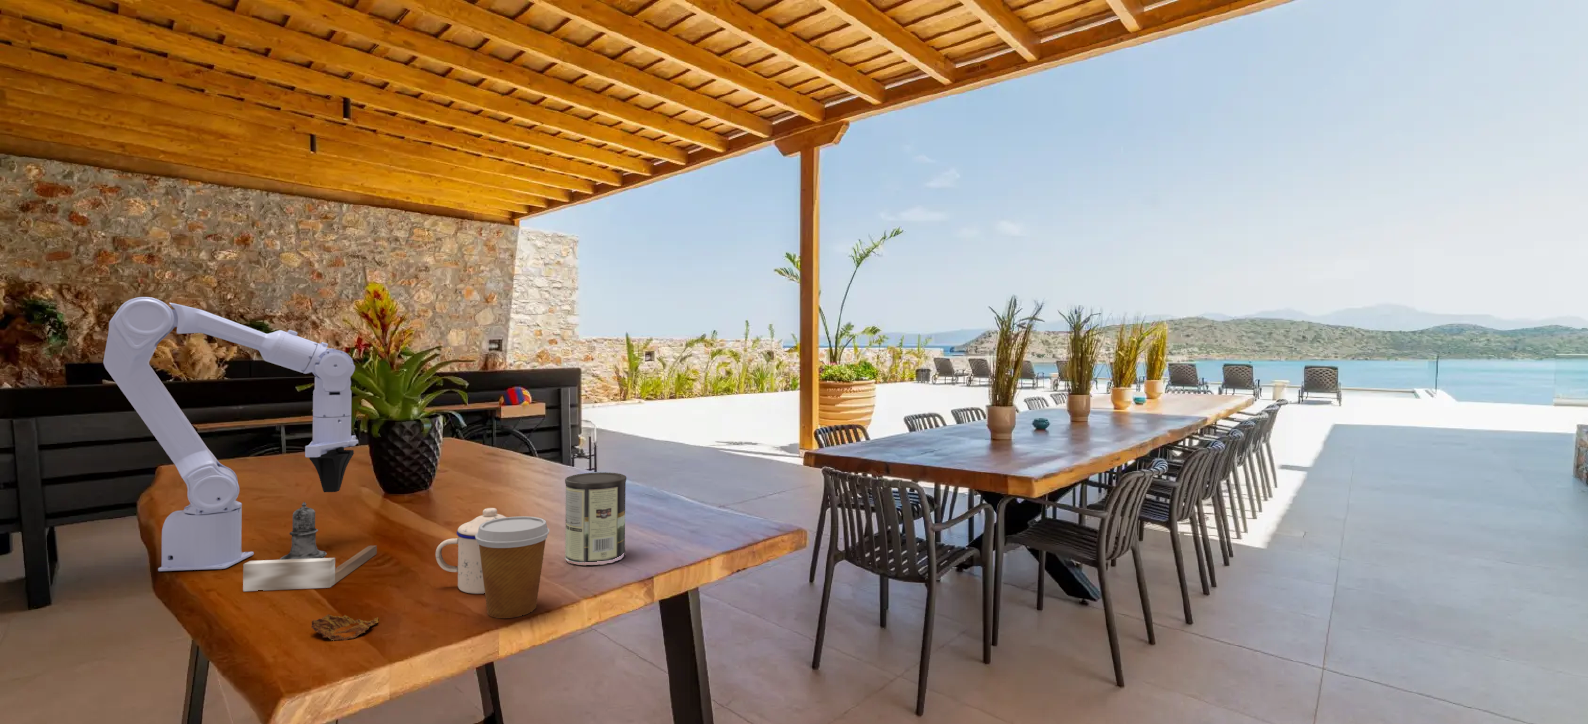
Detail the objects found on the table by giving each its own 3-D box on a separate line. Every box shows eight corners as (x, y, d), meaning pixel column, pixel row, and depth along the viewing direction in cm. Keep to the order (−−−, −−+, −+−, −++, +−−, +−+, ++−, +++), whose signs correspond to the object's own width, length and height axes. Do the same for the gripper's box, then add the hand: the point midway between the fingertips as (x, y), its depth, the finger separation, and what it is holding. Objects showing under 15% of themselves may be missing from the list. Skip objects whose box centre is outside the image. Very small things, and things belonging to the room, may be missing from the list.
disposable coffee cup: (555, 615, 92) (556, 527, 92) (479, 629, 87) (480, 536, 87) (540, 593, 100) (541, 512, 100) (469, 605, 95) (471, 520, 95)
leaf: (351, 646, 83) (354, 633, 83) (299, 637, 83) (301, 623, 83) (387, 630, 89) (389, 617, 89) (338, 621, 90) (340, 609, 90)
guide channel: (243, 591, 99) (243, 564, 99) (303, 556, 116) (303, 533, 115) (329, 587, 101) (330, 561, 101) (376, 554, 118) (376, 531, 118)
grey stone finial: (335, 574, 107) (336, 498, 107) (305, 586, 101) (305, 507, 101) (301, 572, 108) (302, 497, 108) (269, 584, 102) (270, 505, 102)
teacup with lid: (524, 573, 109) (525, 501, 109) (516, 592, 100) (517, 514, 100) (443, 578, 106) (443, 504, 106) (427, 599, 97) (428, 518, 97)
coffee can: (597, 545, 125) (598, 469, 125) (637, 555, 120) (638, 476, 120) (551, 559, 117) (552, 478, 116) (591, 570, 111) (593, 485, 111)
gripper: (338, 420, 115) (337, 499, 115) (373, 412, 129) (372, 483, 129) (291, 420, 114) (290, 500, 114) (332, 412, 128) (331, 484, 128)
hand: (331, 491), depth 122 cm, fingers closed
